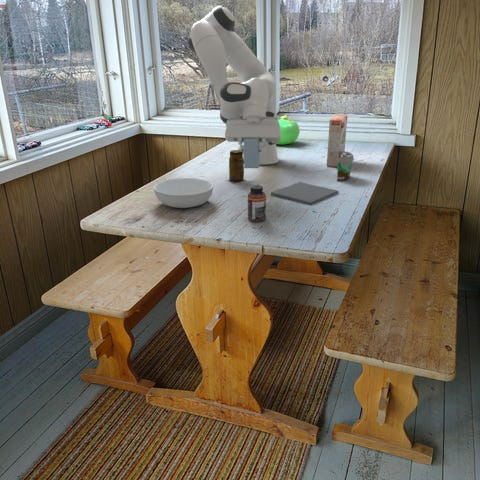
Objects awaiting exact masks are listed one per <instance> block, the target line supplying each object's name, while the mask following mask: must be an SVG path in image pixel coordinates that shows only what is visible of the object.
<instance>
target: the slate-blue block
mask: <svg viewBox="0 0 480 480" xmlns="http://www.w3.org/2000/svg"><path fill="white" fill-rule="evenodd" d="M243 143H244V169H259V167H260V166H261V165H260V163H259V152H258V145H259V138H245V139H244V141H243Z"/></svg>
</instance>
